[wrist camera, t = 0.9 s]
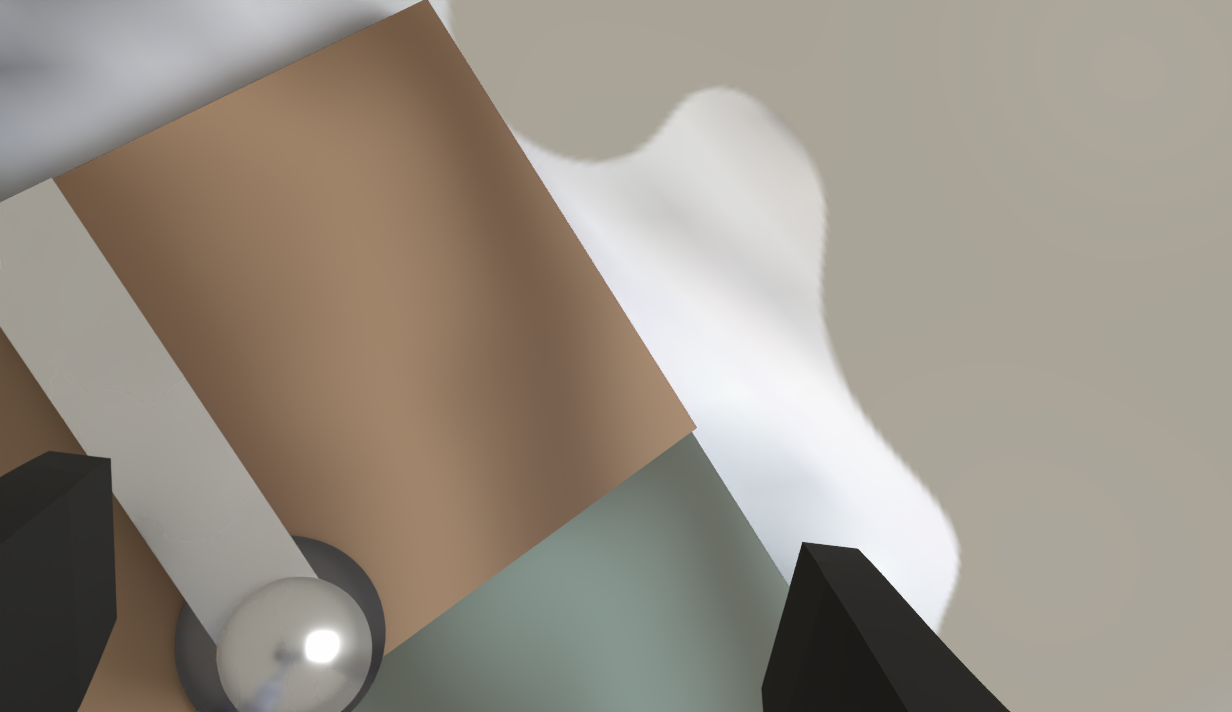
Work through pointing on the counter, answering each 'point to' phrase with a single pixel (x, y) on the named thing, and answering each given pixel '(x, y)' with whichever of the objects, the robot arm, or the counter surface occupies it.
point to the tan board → (418, 396)
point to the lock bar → (174, 468)
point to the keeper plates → (198, 646)
